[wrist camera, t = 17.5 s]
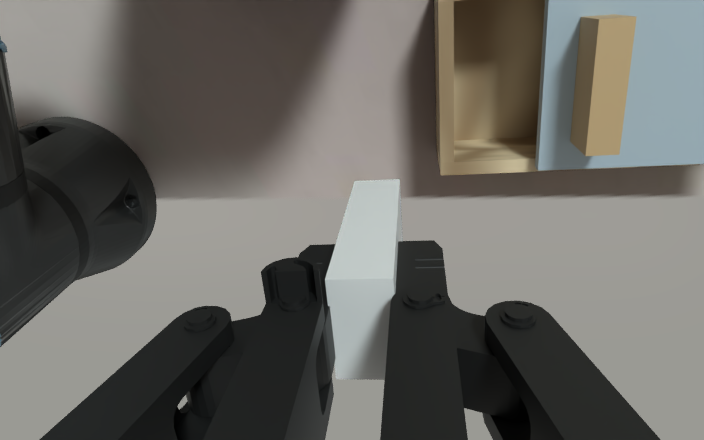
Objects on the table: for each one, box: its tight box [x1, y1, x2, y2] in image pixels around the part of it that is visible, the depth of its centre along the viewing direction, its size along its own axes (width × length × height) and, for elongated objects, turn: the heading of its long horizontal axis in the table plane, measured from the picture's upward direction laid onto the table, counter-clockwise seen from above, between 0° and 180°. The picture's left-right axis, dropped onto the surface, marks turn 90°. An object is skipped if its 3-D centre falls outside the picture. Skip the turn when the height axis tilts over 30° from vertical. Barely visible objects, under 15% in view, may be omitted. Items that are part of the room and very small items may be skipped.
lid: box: [535, 0, 704, 171], centre depth 32 cm, size 17×12×4 cm
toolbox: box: [434, 0, 700, 176], centre depth 38 cm, size 25×13×7 cm, turn 95°
